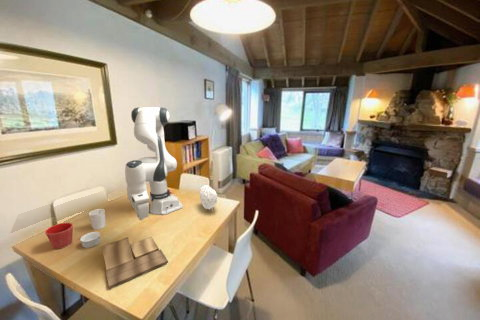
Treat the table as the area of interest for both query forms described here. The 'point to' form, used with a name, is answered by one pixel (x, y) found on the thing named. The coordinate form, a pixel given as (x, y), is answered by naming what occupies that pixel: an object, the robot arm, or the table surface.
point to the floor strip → (135, 268)
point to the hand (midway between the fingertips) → (140, 218)
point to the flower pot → (60, 235)
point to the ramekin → (90, 239)
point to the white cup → (97, 218)
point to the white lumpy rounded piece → (208, 197)
